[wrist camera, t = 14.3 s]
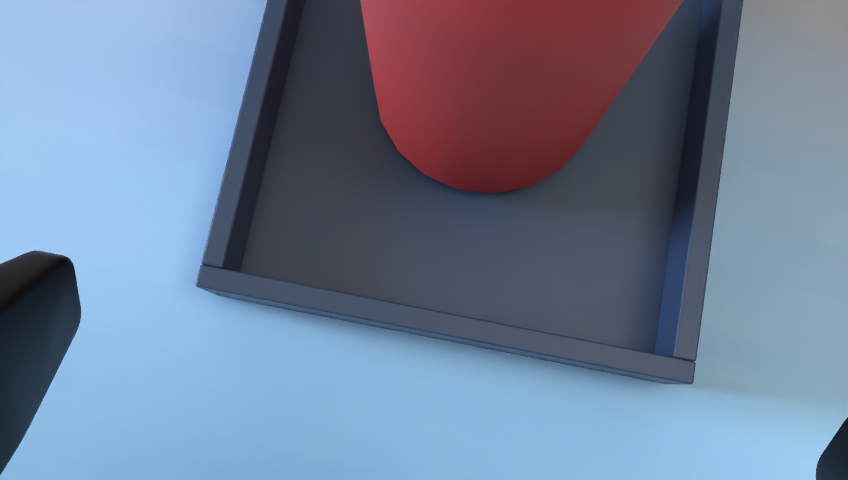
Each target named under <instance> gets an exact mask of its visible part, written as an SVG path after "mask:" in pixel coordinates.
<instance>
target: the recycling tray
mask: <svg viewBox="0 0 848 480" xmlns="http://www.w3.org/2000/svg"><path fill="white" fill-rule="evenodd" d="M742 5H743V0H683V2H682V3H681V5H680V6H679V8H678V9H677V10H676V12H675V13H674V15H673V16H672V18H671V19H670V21H669V22H668V23H667V25H666V26H665V28H664V29H663V31H662V32H661V34H660V35H659V36H658V38H657V39H656V41H655V42H654V44H653V45H652V46H651V48H650V49H649V51H648V52H647V54H646V55H645V57H644V58H643V59H642V61H641V62H640V64H639V65H638V67H637V68H636V70H635V71H634V72H633V74H632V75H631V77H630V78H629V80H628V81H627V83H626V84H625V85H624V87H623V88H622V90H621V91H620V93H619V94H618V95H617V97H616V98H615V100H614V101H613V103H612V104H611V106H610V107H609V108H608V110H607V111H606V113H605V114H604V116H603V117H602V119H601V120H600V121H599V123H598V124H597V126H596V127H595V129H594V130H593V131H592V133H591V134H590V136H589V137H588V139H587V140H586V142H585V143H584V144H583V146H582V147H581V148H580V149H579V150H578V151H577V152H576V153H575V154H574V155H573V156H572V157H571V159H570V160H569V161H568V162H567V163H566V164H565V165H564V166H563V167H562V168H561V169H560V170H559V171H557V172H555V173H554V174H552V175H550V176H548V177H546V178H544V179H543V180H541V181H539V182H537V183H535V184H534V185H532V186H530V187H527V188H521V189H516V190H511V191H506V192H500V193H495V194H490V193H482V192H473V191H465V190H457V189H455V188H453V187H450V186H448V185H446V184H444V183H442V182H439V181H437V180H435V179H433V178H430V177H428V176H426V175H424V174H423V173H422V172H421V171H420V170H419V169H417V168H416V167H415V166H414V165H413V164H412V163H411V162H410V161H409V160H407V159H406V158H405V157H404V156H403V155H402V154H401V153H400V152H399V151H398V150H397V148H396V147H395V145H394V143H393V141H392V140H391V138H390V136H389V134H388V133H387V131H386V129H385V127H384V126H383V124H382V122H381V119H380V114H379V109H378V104H377V98H376V93H375V88H374V82H373V76H372V70H371V63H370V57H369V51H368V45H367V39H366V33H365V26H364V20H363V14H362V8H361V2H360V0H267V4H266V8H265V12H264V16H263V20H262V24H261V28H260V32H259V36H258V40H257V44H256V48H255V52H254V56H253V60H252V64H251V68H250V72H249V76H248V80H247V84H246V88H245V92H244V96H243V100H242V104H241V108H240V112H239V116H238V120H237V124H236V128H235V132H234V136H233V140H232V144H231V148H230V152H229V156H228V160H227V164H226V168H225V171H224V175H223V179H222V183H221V187H220V191H219V195H218V199H217V203H216V207H215V211H214V215H213V219H212V223H211V227H210V231H209V235H208V239H207V243H206V247H205V251H204V255H203V259H202V264H203V265H201V266H200V270H199V274H198V278H197V282H196V286H197V287H199V288H202V289H204V290H206V291H209V292H211V293H214V294H216V295H219V296H224V297H229V298H235V299H240V300H245V301H250V302H255V303H260V304H265V305H270V306H275V307H280V308H285V309H290V310H295V311H300V312H305V313H310V314H315V315H320V316H325V317H330V318H336V319H341V320H346V321H351V322H356V323H361V324H366V325H371V326H376V327H381V328H386V329H391V330H396V331H401V332H406V333H411V334H416V335H421V336H426V337H432V338H437V339H442V340H447V341H452V342H457V343H462V344H467V345H472V346H477V347H482V348H487V349H492V350H497V351H502V352H507V353H512V354H517V355H522V356H528V357H533V358H538V359H543V360H548V361H553V362H558V363H563V364H568V365H573V366H578V367H583V368H588V369H593V370H598V371H603V372H608V373H613V374H618V375H624V376H629V377H634V378H639V379H644V380H649V381H654V382H659V383H664V384H693V379H694V372H695V362H694V361H696V357H697V349H698V341H699V334H700V326H701V318H702V311H703V303H704V295H705V288H706V280H707V273H708V265H709V257H710V250H711V242H712V234H713V227H714V219H715V211H716V204H717V196H718V189H719V181H720V173H721V166H722V158H723V150H724V143H725V135H726V127H727V120H728V112H729V105H730V97H731V89H732V82H733V74H734V66H735V59H736V51H737V43H738V36H739V28H740V21H741V13H742Z"/></svg>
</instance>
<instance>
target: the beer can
mask: <svg viewBox="0 0 848 480" xmlns="http://www.w3.org/2000/svg"><path fill="white" fill-rule="evenodd" d="M360 2H361V8H362V14H363V20H364V26H365V33H366V39H367V45H368V51H369V57H370V63H371V70H372V76H373V82H374V88H375V93H376V98H377V104H378V109H379V114H380V119H381V122H382V124H383V126H384V127H385V129H386V131H387V133H388V134H389V136H390V138H391V140H392V141H393V143H394V145H395V147H396V148H397V150H398V151H399V152H400V153H401V154H402V155H403V156H404V157H405V158H406V159H407V160H409V161H410V162H411V163H412V164H413V165H414V166H415V167H416V168H417V169H419V170H420V171H421V172H422V173H423V174H424V175H426V176H428V177H430V178H433V179H435V180H437V181H439V182H442V183H444V184H446V185H448V186H450V187H453V188H455V189H457V190H465V191H473V192H482V193H490V194H495V193H500V192H506V191H511V190H516V189H521V188H527V187H530V186H532V185H534V184H535V183H537V182H539V181H541V180H543V179H544V178H546V177H548V176H550V175H552V174H554V173H555V172H557V171H559V170H560V169H561V168H562V167H563V166H564V165H565V164H566V163H567V162H568V161H569V160H570V159H571V157H572V156H573V155H574V154H575V153H576V152H577V151H578V150H579V149H580V148H581V147H582V146H583V144H584V143H585V142H586V140H587V139H588V137H589V136H590V134H591V133H592V131H593V130H594V129H595V127H596V126H597V124H598V123H599V121H600V120H601V119H602V117H603V116H604V114H605V113H606V111H607V110H608V108H609V107H610V106H611V104H612V103H613V101H614V100H615V98H616V97H617V95H618V94H619V93H620V91H621V90H622V88H623V87H624V85H625V84H626V83H627V81H628V80H629V78H630V77H631V75H632V74H633V72H634V71H635V70H636V68H637V67H638V65H639V64H640V62H641V61H642V59H643V58H644V57H645V55H646V54H647V52H648V51H649V49H650V48H651V46H652V45H653V44H654V42H655V41H656V39H657V38H658V36H659V35H660V34H661V32H662V31H663V29H664V28H665V26H666V25H667V23H668V22H669V21H670V19H671V18H672V16H673V15H674V13H675V12H676V10H677V9H678V8H679V6H680V5H681V3H682V2H683V0H360Z"/></svg>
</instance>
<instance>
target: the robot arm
mask: <svg viewBox="0 0 848 480" xmlns="http://www.w3.org/2000/svg"><path fill="white" fill-rule="evenodd" d="M80 319H81V306H80V300H79V294H78V288H77V282H76V275H75V269H74V266H73V263H72V261H71V260H70V259H69V258H68V257H66V256H63V255H58V254H53V253H48V252H43V251H31V252H28V253H25V254H23V255H20V256H18V257H16V258H13V259H11V260H9V261H6V262H4V263H2V264H0V475H1V473H2V472H3V470H4V468H5V467H6V465H7V464H8V462H9V461H10V459H11V457H12V456H13V454H14V453H15V451H16V449H17V448H18V446H19V444H20V443H21V441H22V439H23V437H24V435H25V434H26V432H27V430H28V428H29V426H30V424H31V422H32V420H33V418H34V416H35V414H36V412H37V410H38V408H39V406H40V404H41V402H42V400H43V398H44V396H45V394H46V392H47V390H48V388H49V386H50V384H51V382H52V380H53V378H54V376H55V374H56V372H57V370H58V368H59V366H60V364H61V362H62V360H63V358H64V356H65V354H66V352H67V350H68V348H69V346H70V344H71V342H72V340H73V338H74V336H75V334H76V332H77V329H78V327H79V323H80ZM816 480H848V418H847V419H846V420H845V421H844V423H843V424H842V426H841V427H840V429H839V430H838V432H837V433H836V434H835V436H834V437H833V439H832V440H831V442H830V443H829V445H828V446H827V448H826V449H825V450H824V452H823V453H822V455H821V457H820V459H819V461H818V464H817V469H816Z"/></svg>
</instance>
